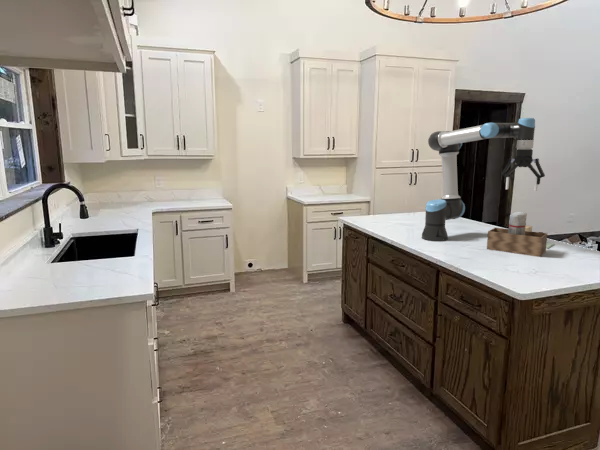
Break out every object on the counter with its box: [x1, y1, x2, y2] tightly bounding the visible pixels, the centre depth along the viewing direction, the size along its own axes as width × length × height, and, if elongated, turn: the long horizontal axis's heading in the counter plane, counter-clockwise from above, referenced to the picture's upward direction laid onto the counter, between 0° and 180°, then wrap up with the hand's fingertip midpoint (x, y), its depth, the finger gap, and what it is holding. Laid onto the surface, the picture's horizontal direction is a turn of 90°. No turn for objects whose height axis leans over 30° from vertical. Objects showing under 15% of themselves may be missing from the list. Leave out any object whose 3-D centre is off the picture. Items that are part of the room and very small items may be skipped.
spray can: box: [508, 211, 528, 235], centre depth 220 cm, size 8×8×20 cm
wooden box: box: [486, 227, 548, 258], centre depth 221 cm, size 26×12×10 cm, turn 49°
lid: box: [525, 224, 555, 250], centre depth 237 cm, size 26×12×10 cm, turn 44°
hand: (520, 190), depth 216 cm, fingers open, 13 cm apart
